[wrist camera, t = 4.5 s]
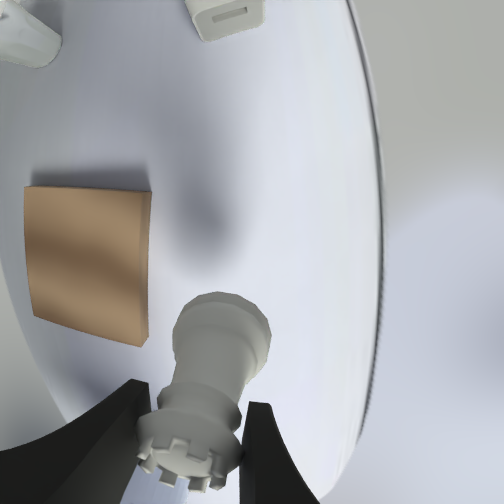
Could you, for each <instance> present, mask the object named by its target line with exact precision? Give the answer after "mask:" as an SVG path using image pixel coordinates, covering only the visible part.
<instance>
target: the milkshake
mask: <svg viewBox="0 0 504 504" xmlns="http://www.w3.org/2000/svg"><path fill="white" fill-rule="evenodd" d="M61 39H62V37H61V36H60V35H58V34H57V33H56V32H54V31H53V30H52V29H50V28H49V27H48V26H46V25H45V24H43V23H42V22H41V21H39V20H38V19H36V18H35V17H34V16H32V15H31V14H30V13H29V12H27V11H26V10H25V9H24V8H23V7H22V6H20V5H19V4H18V3H16V2H15V1H14V0H0V60H3V61H8V62H12V63H17V64H21V65H26V66H30V67H34V68H41V67H44V66H47V65H48V64H49V63H50V62H51V61H52V60H53V59H54V58H55V57H56V55H57V53H58V51H59V49H60V47H61Z"/></svg>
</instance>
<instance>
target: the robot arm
mask: <svg viewBox="0 0 504 504" xmlns="http://www.w3.org/2000/svg"><path fill="white" fill-rule="evenodd" d="M150 412H151V404H150V394H149V384H148V383H146V382H142V381H138V380H135V379H130V380H129V381H127V382H126V383H125V384H123V385H122V386H121V387H120V388H118V389H117V390H116V391H114V392H113V393H112V394H111V395H109V396H108V397H107V398H105V399H104V400H103V401H101V402H100V403H99V404H97V405H96V406H94V407H93V408H91V409H90V410H89V411H87V412H86V413H84V414H83V415H81V416H80V417H78V418H76V419H75V420H73V421H72V422H70V423H68V424H67V425H65V426H64V427H62V428H60V429H58V430H56V431H54V432H52V433H50V434H48V435H46V436H44V437H42V438H39V439H37V440H34V441H32V442H29V443H27V444H24V445H21V446H18V447H15V448H12V449H8V450H4V451H0V504H186V502H187V498H188V494H189V490H188V485H189V481H190V480H186V479H182V478H178V477H177V480H176V483H175V486H174V488H172V487H169V486H167V485H165V484H162V483H160V482H159V479H160V476H161V473H162V470H160V469H159V468H157V467H155V470H154V472H153V473H145V472H144V471H143V470H142V469H141V468H140V467H139V465H138V462H139V460H140V458H139V457H136V456H135V455H136V453H137V451H138V448H139V443H138V441H137V438H136V434H135V429H134V426H135V424H136V422H137V421H138V419H139V417H141V416H143V415H146V414H148V413H150ZM241 446H242V448H243V450H244V452H245V453H244V458H243V462H242V464H240V465H239V487H240V504H320V503H319V502H318V500H317V499H316V497H315V496H314V495H313V493H312V492H311V491H310V489H309V488H308V486H307V484H306V483H305V481H304V480H303V478H302V476H301V475H300V473H299V471H298V470H297V468H296V466H295V464H294V462H293V460H292V458H291V456H290V454H289V452H288V450H287V448H286V446H285V444H284V442H283V439H282V437H281V434H280V432H279V429H278V427H277V424H276V421H275V418H274V415H273V411H272V407H271V405H270V404H269V403H260V402H251V401H249V405H248V411H247V416H246V421H245V427H244V432H243V437H242V445H241Z"/></svg>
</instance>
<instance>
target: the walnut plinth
mask: <svg viewBox="0 0 504 504" xmlns="http://www.w3.org/2000/svg"><path fill="white" fill-rule="evenodd" d="M151 195H152V192H147V191H134V190H121V189H105V188H87V187H66V186H29V187H24V236H25V252H26V264H27V274H28V282H29V289H30V296H31V302H32V308H33V314H34V316H36V317H39V318H42V319H45V320H47V321H50V322H53V323H56V324H59V325H62V326H65V327H68V328H72V329H75V330H78V331H81V332H85V333H88V334H91V335H95V336H98V337H102V338H106V339H109V340H113V341H117V342H121V343H125V344H129V345H133V346H137V347H142V346H143V344H144V343H145V341H146V340H147V338H148V337H149V335H148V244H149V223H150V208H151Z"/></svg>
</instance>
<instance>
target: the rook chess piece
mask: <svg viewBox="0 0 504 504" xmlns="http://www.w3.org/2000/svg"><path fill="white" fill-rule="evenodd" d="M271 336H272V334H271V331H270V327H269V324H268V320H267V318H266V317H265V316H264V315H263V313H262V312H261V311H260V310H259V309H258V307H257V306H256V305H255V304H253V303H252V302H250V301H248V300H246V299H244V298H243V297H241V296H239V295H237V294H230V293H224V292H218V291H217V292H212V293H207V294H203V295H198V296H197V297H196V298H194V299H193V300H191V301H190V302H189V303H187V304H186V305H185V306H184V308H183V310H182V311H181V313H180V315H179V317H178V319H177V322H176V324H175V326H174V328H173V351H174V354H175V361H176V367H175V371H174V375H173V379H172V382H171V384H170V385H169V386H167V387H165V388H163V389H162V390H161V392H160V394H159V396H158V397H157V404H158V410H156V411H153V412H150V413H148V414H146V415H143V416H141V417H139V419H138V421H137V422H136V424H135V426H134V429H135V434H136V438H137V441H138V443H139V448H138V451H137V453H136V455H135V456H136V457H139V458H140V460H139V462H138V465H139V467H140V468H141V469H142V470H143V471H144V472H145V473H153V472H154V470H155V467H157V468H159V469H160V470H162V473H161V476H160V479H159V482H160V483H162V484H165V485H167V486H169V487H172V488H174V486H175V483H176V480H177V477H178V478H182V479H186V480H190V481H189V485H188V490H189V492H196V493H205V491H206V487H207V482H208V481H210V485H209V487H210V488H212V489H215V490H217V491H218V490H219V489H221V488H222V487H224V486H225V484H226V478H227V474H228V473H230V472H231V471H233V470H234V469H235V468H237V467H238V466H239V465H240V464H242V462H243V458H244V453H245V452H244V450H243V448H242V446H241V444H240V442H239V440H238V439H237V438H236V436H235V435H234V434H233V433H234V432H235V431H236V430H237V429H238V428H239V427H240V425H241V419H242V415H241V412H240V410H239V408H238V406H237V405H238V402H239V399H240V397H241V394H242V392H243V389H244V386H245V385H246V384H248V382H249V381H250V380H251V379H252V378H254V377H255V376H256V375H257V374H258V372H259V371H260V370H261V369H262V367H263V366H264V365H265V363H266V361H267V357H268V352H269V347H270V341H271Z"/></svg>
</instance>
